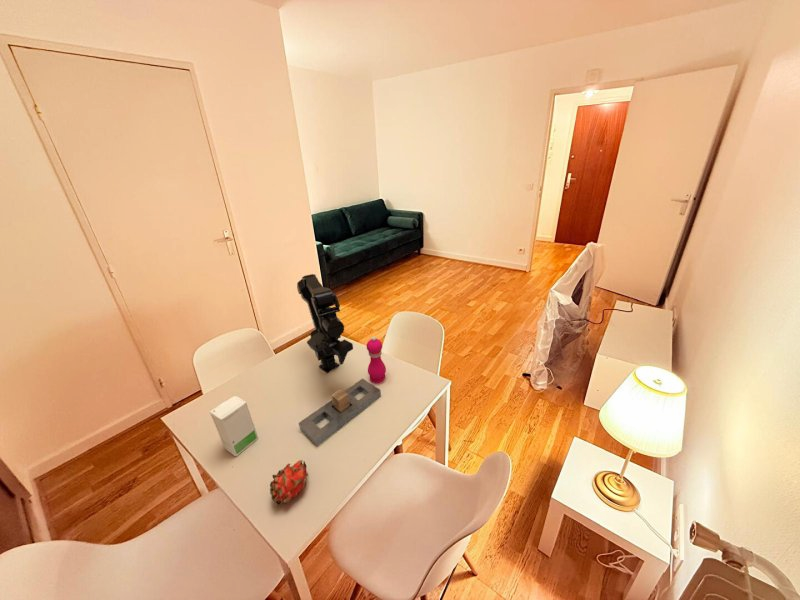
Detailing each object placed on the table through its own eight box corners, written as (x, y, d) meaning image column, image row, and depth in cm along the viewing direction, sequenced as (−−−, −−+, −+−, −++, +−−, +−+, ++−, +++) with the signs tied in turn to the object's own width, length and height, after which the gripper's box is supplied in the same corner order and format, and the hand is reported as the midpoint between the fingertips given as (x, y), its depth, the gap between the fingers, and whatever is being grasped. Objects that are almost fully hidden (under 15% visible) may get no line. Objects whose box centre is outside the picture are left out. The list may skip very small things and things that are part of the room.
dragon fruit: (272, 515, 77) (305, 479, 87) (290, 513, 72) (323, 475, 83) (255, 487, 77) (290, 454, 87) (272, 483, 72) (307, 449, 83)
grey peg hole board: (300, 429, 99) (298, 423, 98) (363, 384, 117) (362, 378, 116) (317, 446, 93) (315, 439, 92) (381, 396, 111) (380, 389, 110)
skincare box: (235, 457, 91) (219, 421, 84) (223, 448, 94) (207, 412, 87) (259, 437, 97) (247, 401, 90) (247, 429, 100) (234, 394, 94)
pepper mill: (387, 372, 123) (384, 331, 114) (385, 385, 117) (381, 342, 108) (370, 372, 124) (365, 331, 115) (367, 384, 117) (362, 342, 109)
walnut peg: (334, 412, 105) (331, 395, 102) (343, 405, 108) (340, 388, 104) (341, 418, 103) (338, 400, 99) (350, 411, 105) (347, 394, 102)
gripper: (294, 324, 107) (302, 360, 114) (324, 343, 95) (331, 381, 102) (320, 313, 114) (326, 346, 121) (351, 328, 103) (356, 365, 109)
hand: (334, 359), depth 113 cm, fingers open, 9 cm apart
